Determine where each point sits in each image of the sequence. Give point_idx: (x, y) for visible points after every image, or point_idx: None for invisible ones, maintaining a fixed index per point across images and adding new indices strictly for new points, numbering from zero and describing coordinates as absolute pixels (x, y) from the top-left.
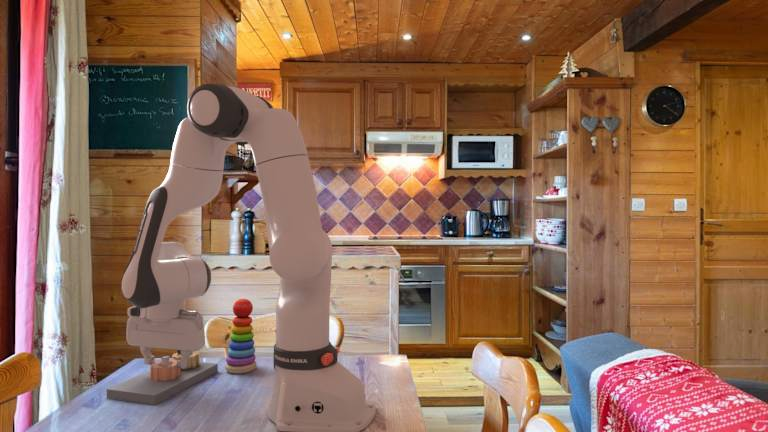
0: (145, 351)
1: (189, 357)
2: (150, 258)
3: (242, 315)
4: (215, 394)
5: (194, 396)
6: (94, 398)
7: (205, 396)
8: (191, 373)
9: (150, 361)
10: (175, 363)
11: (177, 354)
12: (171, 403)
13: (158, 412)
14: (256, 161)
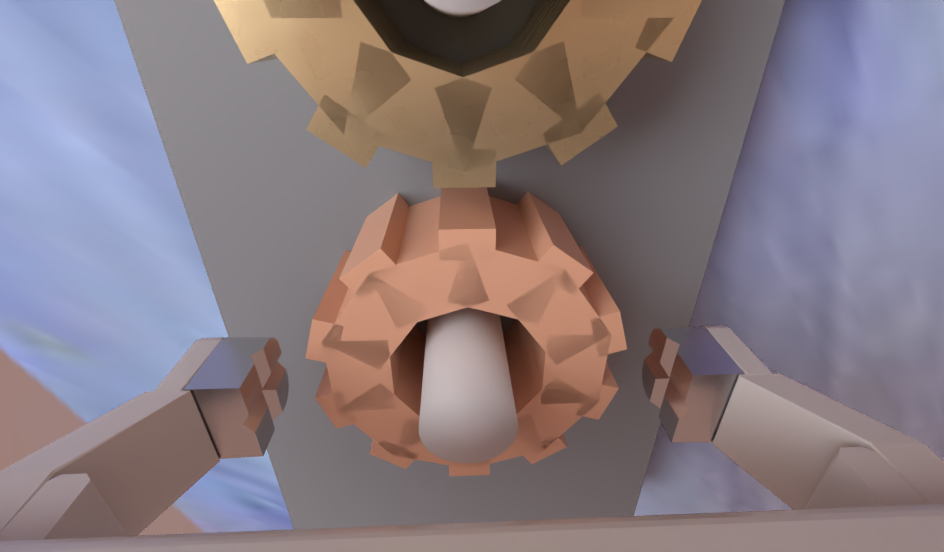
0: (124, 512)
1: (620, 79)
2: None
3: None
4: (910, 301)
5: (778, 357)
6: (257, 502)
7: (849, 340)
8: (664, 173)
9: (271, 402)
10: (577, 342)
11: (326, 26)
12: (688, 446)
13: (678, 512)
14: None
